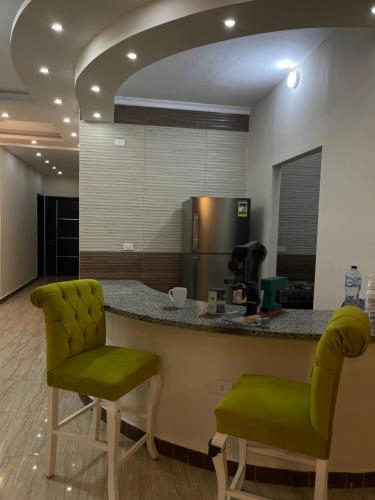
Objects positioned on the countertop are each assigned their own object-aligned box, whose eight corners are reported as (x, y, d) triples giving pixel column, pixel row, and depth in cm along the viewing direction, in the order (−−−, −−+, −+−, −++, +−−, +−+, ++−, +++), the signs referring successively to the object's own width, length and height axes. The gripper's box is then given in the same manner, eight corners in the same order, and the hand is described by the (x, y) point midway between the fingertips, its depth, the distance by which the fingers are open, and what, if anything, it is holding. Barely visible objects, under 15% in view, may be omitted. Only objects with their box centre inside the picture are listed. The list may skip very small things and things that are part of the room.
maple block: (233, 302, 192) (233, 290, 192) (240, 300, 196) (240, 289, 196) (239, 303, 189) (239, 292, 189) (246, 302, 194) (246, 290, 193)
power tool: (281, 305, 237) (283, 275, 236) (291, 307, 232) (293, 276, 231) (257, 313, 212) (259, 279, 211) (268, 315, 208) (270, 280, 207)
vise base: (234, 316, 202) (234, 310, 202) (265, 323, 188) (265, 317, 187) (222, 319, 195) (222, 312, 195) (253, 327, 181) (253, 320, 180)
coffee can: (226, 311, 214) (227, 287, 213) (224, 315, 204) (225, 290, 203) (208, 310, 216) (209, 286, 215) (206, 313, 206) (207, 289, 205)
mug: (188, 307, 222) (189, 288, 222) (181, 309, 215) (181, 290, 215) (172, 304, 229) (172, 286, 228) (164, 306, 222) (165, 287, 221)
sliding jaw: (255, 319, 191) (255, 313, 191) (272, 323, 184) (272, 317, 184) (245, 322, 185) (245, 316, 185) (262, 326, 178) (262, 320, 178)
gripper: (217, 268, 193) (216, 298, 194) (246, 272, 180) (244, 304, 181) (230, 267, 201) (229, 295, 202) (259, 271, 187) (257, 301, 188)
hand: (239, 299), depth 193 cm, fingers closed on maple block, 4 cm apart
